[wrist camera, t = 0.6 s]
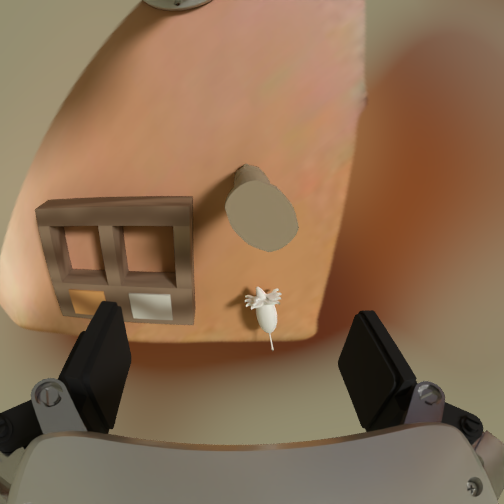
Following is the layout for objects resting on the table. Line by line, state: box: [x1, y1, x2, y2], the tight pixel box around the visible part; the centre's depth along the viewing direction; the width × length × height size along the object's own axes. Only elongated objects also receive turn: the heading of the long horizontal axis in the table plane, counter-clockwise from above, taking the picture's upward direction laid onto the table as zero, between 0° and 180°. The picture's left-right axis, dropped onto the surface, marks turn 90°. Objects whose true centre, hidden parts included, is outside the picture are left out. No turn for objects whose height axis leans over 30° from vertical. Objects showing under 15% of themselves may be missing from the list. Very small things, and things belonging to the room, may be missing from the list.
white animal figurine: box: [245, 287, 281, 350], centre depth 45 cm, size 12×5×5 cm, turn 10°
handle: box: [225, 164, 299, 252], centre depth 30 cm, size 5×6×15 cm
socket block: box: [35, 196, 195, 325], centre depth 38 cm, size 18×22×4 cm
